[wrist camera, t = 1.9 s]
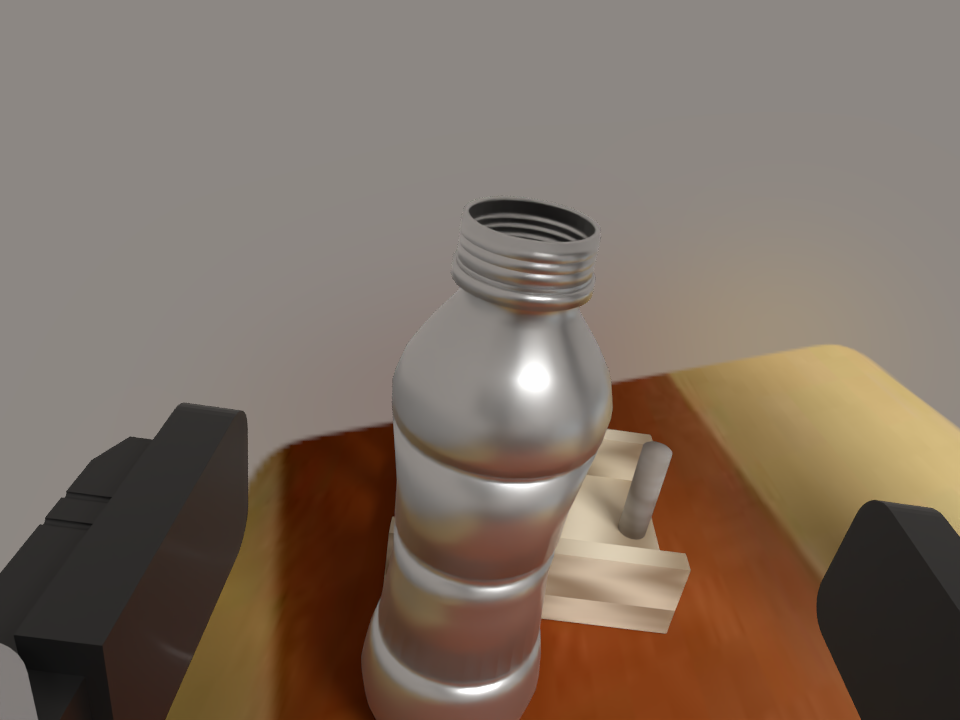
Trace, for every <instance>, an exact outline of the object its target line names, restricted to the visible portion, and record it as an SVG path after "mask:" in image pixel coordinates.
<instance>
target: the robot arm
mask: <svg viewBox="0 0 960 720" xmlns="http://www.w3.org/2000/svg"><path fill="white" fill-rule="evenodd" d="M247 434H248V428H247V418H246V414H245V413H244V412H243V411H240V410H233V409H226V408H219V407H212V406H204V405H197V404H190V403H181V404H180V405H178V406H177V407H176V409H175V410H174V411H173V413H172V414H171V415H170V417H169V418H168V420H167V421H166V422H165V424H164V425H163V427H162V428H161V429H160V431H159V432H158V434H157V435H156V436H155V438H154V439H153V440H151V439H143V438H136V437H129V438H127V439H125V440H124V441H122V442H120V443H119V444H117V445H116V446H114V447H112V448H111V449H109V450H108V451H106V452H104V453H103V454H101V455H99V456H98V457H96V458H94V459H93V460H91V462H90V463H89V464H88V465H87V466H86V468H85V469H84V470H83V472H82V473H81V474H80V475H79V476H78V478H77V479H76V480H75V481H74V483H73V484H72V485H71V486H70V488H69V489H68V490H67V491H66V492H67V494H66V497H65V498H61V499H60V500H59V501H58V502H57V504H56V505H55V506H54V507H53V509H52V510H51V511H50V512H49V514H48V515H47V516H46V518H45V523H44V524H43V525H39V526H38V527H37V528H36V530H35V531H34V532H33V533H32V535H31V536H30V537H29V538H28V540H27V541H26V542H25V543H24V545H23V546H22V547H21V548H20V550H19V551H18V552H17V553H16V555H15V556H14V557H13V558H12V559H11V561H10V562H9V563H8V564H7V566H6V567H5V568H4V569H3V570H2V572H1V573H0V720H165V719H166V716H167V714H168V712H169V709H170V707H171V705H172V703H173V700H174V698H175V696H176V694H177V691H178V689H179V687H180V684H181V682H182V680H183V678H184V675H185V673H186V671H187V669H188V666H189V664H190V662H191V660H192V657H193V655H194V653H195V650H196V648H197V646H198V644H199V641H200V639H201V637H202V635H203V632H204V630H205V628H206V626H207V623H208V621H209V619H210V616H211V614H212V612H213V610H214V607H215V605H216V603H217V601H218V598H219V596H220V594H221V591H222V589H223V587H224V585H225V582H226V580H227V578H228V576H229V573H230V571H231V569H232V567H233V564H234V562H235V560H236V557H237V555H238V553H239V550H240V547H241V543H242V540H243V536H244V532H245V527H246V521H247V513H248V435H247ZM817 619H818V624H819V628H820V631H821V633H822V636H823V638H824V640H825V642H826V644H827V647H828V649H829V651H830V653H831V655H832V657H833V659H834V662H835V664H836V666H837V668H838V670H839V672H840V675H841V677H842V679H843V681H844V683H845V685H846V688H847V690H848V692H849V694H850V696H851V698H852V701H853V703H854V705H855V707H856V709H857V711H858V714H859V716H860V718H861V720H960V537H959V535H958V534H957V533H956V532H955V530H954V529H953V528H952V526H951V525H950V524H949V522H948V521H947V520H946V519H945V517H944V516H943V515H942V514H941V513H940V512H938V511H937V510H935V509H933V508H928V507H921V506H913V505H906V504H899V503H892V502H885V501H877V500H872V501H869V502H867V503H865V504H864V505H863V506H862V507H861V508H860V509H859V511H858V512H857V514H856V516H855V518H854V520H853V522H852V524H851V526H850V528H849V530H848V532H847V534H846V535H845V537H844V539H843V541H842V543H841V545H840V547H839V549H838V551H837V553H836V555H835V557H834V559H833V561H832V563H831V564H830V566H829V568H828V570H827V572H826V574H825V576H824V578H823V580H822V582H821V584H820V587H819V591H818V596H817Z"/></svg>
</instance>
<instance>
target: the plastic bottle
mask: <svg viewBox="0 0 960 720" xmlns="http://www.w3.org/2000/svg"><path fill="white" fill-rule="evenodd" d="M600 233H601V228H600V226H599V224H598V223H597V222H596V221H595V220H594V219H592V218H591V217H589V216H588V215H586V214H584V213H582V212H580V211H577V210H575V209H572V208H570V207H567V206H564V205H560V204H557V203H553V202H548V201H544V200H539V199H533V198H526V197H515V196H492V197H484V198H479V199H475V200H473V201H470V202H469V203H467V204H466V205H465V206H464V210H463V213H462V216H461V223H460V232H459V241H458V249H457V250H456V252H455V253H454V255H453V259H452V268H451V275H452V278H453V280H454V281H455V283H456V284H457V285H458V286H459V290H458V291H457V292H456V293H455V294H454V295H453V296H451V297H450V298H449V299H448V300H447V301H446V302H445V303H444V304H443V305H442V306H441V307H439V308H438V309H437V310H436V311H435V312H434V313H433V314H432V315H431V316H430V317H429V319H428V320H427V321H426V322H425V323H424V324H423V325H422V327H421V328H420V329H419V330H418V331H417V332H416V334H415V335H414V336H413V337H412V339H411V340H410V341H409V342H408V344H407V345H406V348H405V350H404V352H403V354H402V356H401V358H400V361H399V363H398V365H397V367H396V370H395V373H394V376H393V391H392V392H393V393H392V410H393V425H394V442H395V458H396V475H397V484H396V501H395V524H394V538H393V549H392V553H391V557H390V561H389V566H388V570H387V574H386V578H385V583H384V587H383V591H382V595H381V598H380V600H379V602H378V604H377V607H376V609H375V611H374V613H373V616H372V618H371V621H370V624H369V628H368V631H367V634H366V638H365V641H364V646H363V650H362V654H361V662H362V675H363V682H364V688H365V694H366V698H367V701H368V705H369V708H370V709H371V711H372V713H373V715H374V717H375V719H376V720H519V719H520V717H521V716H522V714H523V712H524V711H525V709H526V707H527V705H528V704H529V702H530V700H531V698H532V696H533V694H534V692H535V689H536V685H537V680H538V676H539V665H540V655H541V641H540V623H541V616H542V610H543V603H544V597H545V590H546V584H547V577H548V572H549V569H550V566H551V563H552V560H553V557H554V553H555V549H556V547H557V545H558V542H559V539H560V536H561V534H562V531H563V528H564V525H565V522H566V519H567V516H568V513H569V511H570V508H571V506H572V504H573V502H574V500H575V498H576V496H577V494H578V492H579V490H580V487H581V485H582V483H583V481H584V479H585V477H586V475H587V473H588V471H589V469H590V466H591V464H592V462H593V460H594V458H595V456H596V454H597V452H598V449H599V447H600V445H601V444H602V441H603V439H604V436H605V433H606V430H607V428H608V425H609V422H610V420H611V415H612V410H613V405H612V386H611V378H610V373H609V370H608V367H607V365H606V362H605V360H604V358H603V355H602V353H601V350H600V348H599V345H598V343H597V341H596V339H595V338H594V336H593V334H592V332H591V330H590V329H589V327H588V325H587V323H586V321H585V319H584V318H583V316H582V314H581V312H580V310H579V307H580V306H582V305H583V304H585V303H587V302H588V301H589V300H590V299H591V297H592V294H593V290H594V285H595V280H596V277H595V273H594V267H595V262H596V258H597V253H598V249H599V244H600V239H601V237H600Z"/></svg>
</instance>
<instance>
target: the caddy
mask: <svg viewBox="0 0 960 720" xmlns="http://www.w3.org/2000/svg"><path fill="white" fill-rule="evenodd" d="M671 457H672V451H671V450H670V449H669V448H668V447H667V446H666V445H664V444H662V443H659V442H654V441H652V437H651V435H648V434H640V433H633V432H625V431H618V430H610V429H607V430H606V433H605V436H604V439H603V441H602V444H601V445H600V447H599V449H598V452H597V454H596V456H595V458H594V460H593V462H592V464H591V466H590V469H589V471H588V473H587V475H586V477H585V479H584V481H583V483H582V485H581V487H580V490H579V492H578V494H577V496H576V498H575V500H574V502H573V504H572V506H571V508H570V511H569V513H568V516H567V519H566V522H565V525H564V528H563V531H562V534H561V536H560V539H559V542H558V545H557V547H556V549H555V553H554V557H553V560H552V563H551V566H550V569H549V572H548V577H547V584H546V590H545V597H544V603H543V610H542V616H541V618H542V619H550V620H559V621H567V622H575V623H583V624H591V625H600V626H608V627H616V628H624V629H632V630H641V631H649V632H657V633H665V634H666V633H667V630H668V627H669V625H670V622H671V620H672V617H673V615H674V612H675V609H676V607H677V604H678V602H679V599H680V596H681V594H682V591H683V589H684V586H685V584H686V581H687V578H688V576H689V573H690V571H691V570H690V567H689V563H688V560H687V557H686V554H684V553H676V552H668V551H661V550H659V546H658V542H657V538H656V534H655V530H654V526H653V522H652V518H651V517H652V514H653V511H654V508H655V505H656V502H657V499H658V496H659V493H660V490H661V487H662V484H663V481H664V478H665V475H666V472H667V469H668V466H669V463H670V460H671ZM394 524H395V517H392V520H391V525H390V530H389V537H388V547H387V556H386V566H385V575H384V583H385V578H386V574H387V570H388V566H389V561H390V557H391V553H392V549H393V538H394ZM383 587H384V585H383Z"/></svg>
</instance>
